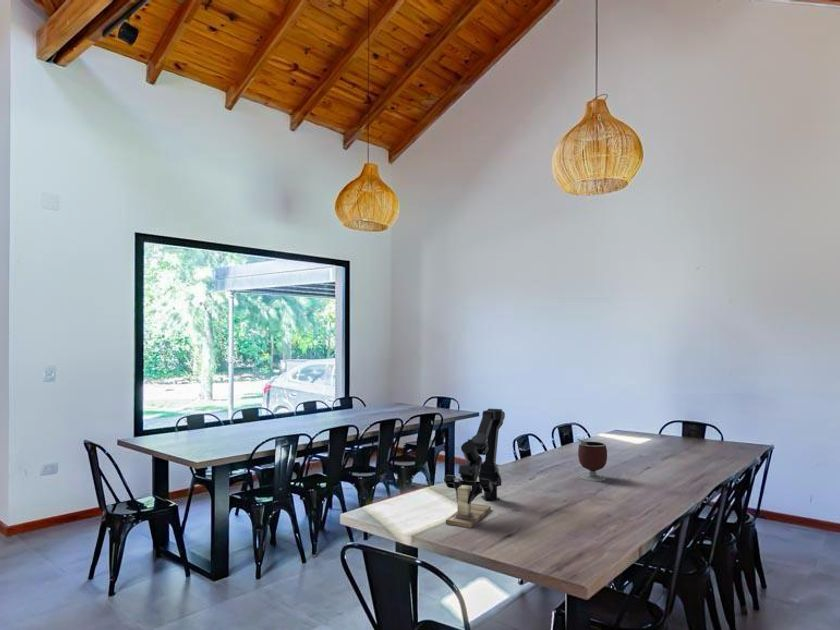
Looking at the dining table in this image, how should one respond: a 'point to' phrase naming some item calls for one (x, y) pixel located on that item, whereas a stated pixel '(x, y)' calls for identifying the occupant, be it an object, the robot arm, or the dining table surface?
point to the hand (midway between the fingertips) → (462, 503)
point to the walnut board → (477, 515)
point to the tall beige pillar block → (463, 502)
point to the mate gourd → (592, 458)
